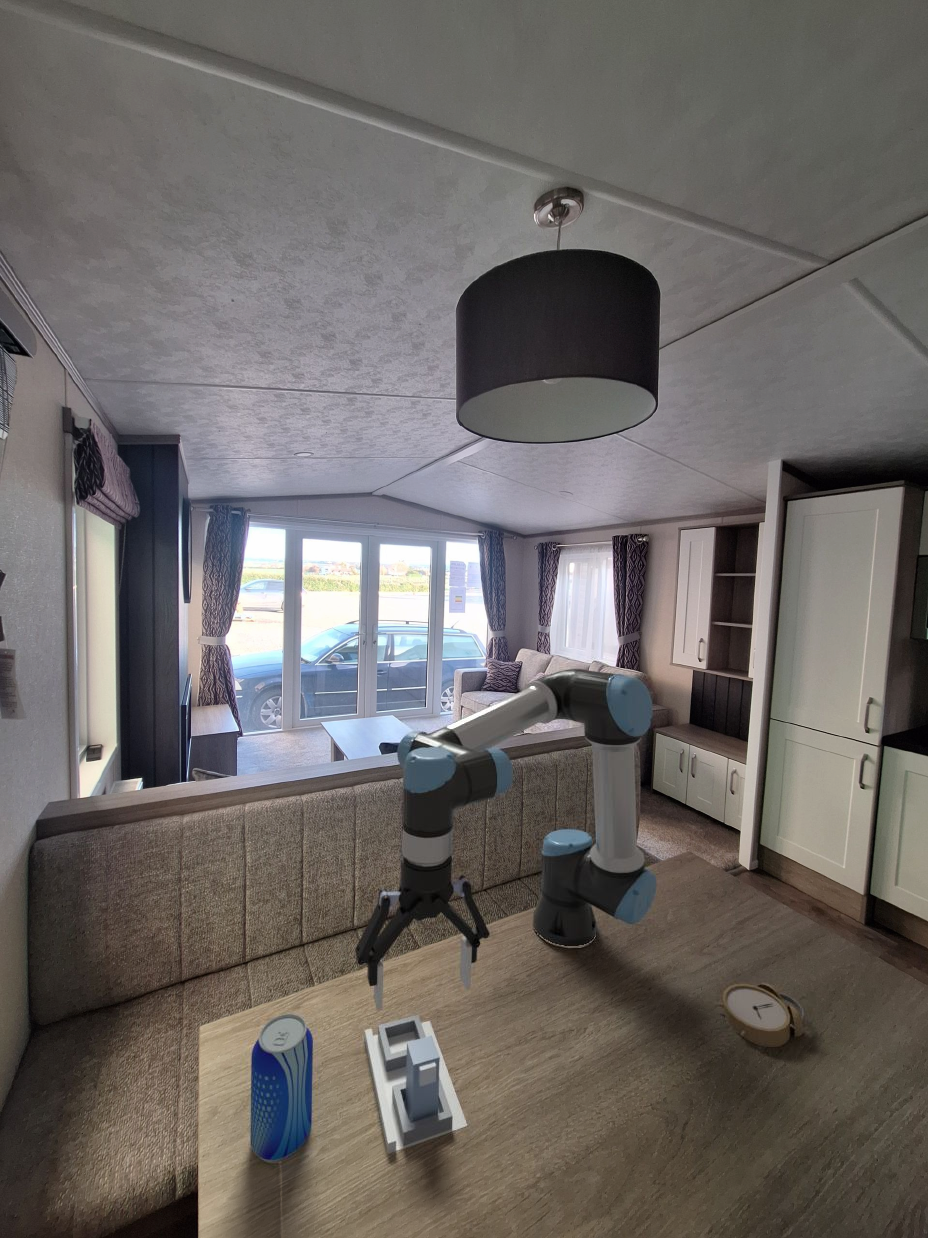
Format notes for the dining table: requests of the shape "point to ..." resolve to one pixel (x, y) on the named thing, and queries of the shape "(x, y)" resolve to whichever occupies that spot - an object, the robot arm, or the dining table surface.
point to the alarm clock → (761, 1014)
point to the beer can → (281, 1088)
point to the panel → (391, 1085)
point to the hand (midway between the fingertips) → (422, 993)
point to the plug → (422, 1079)
